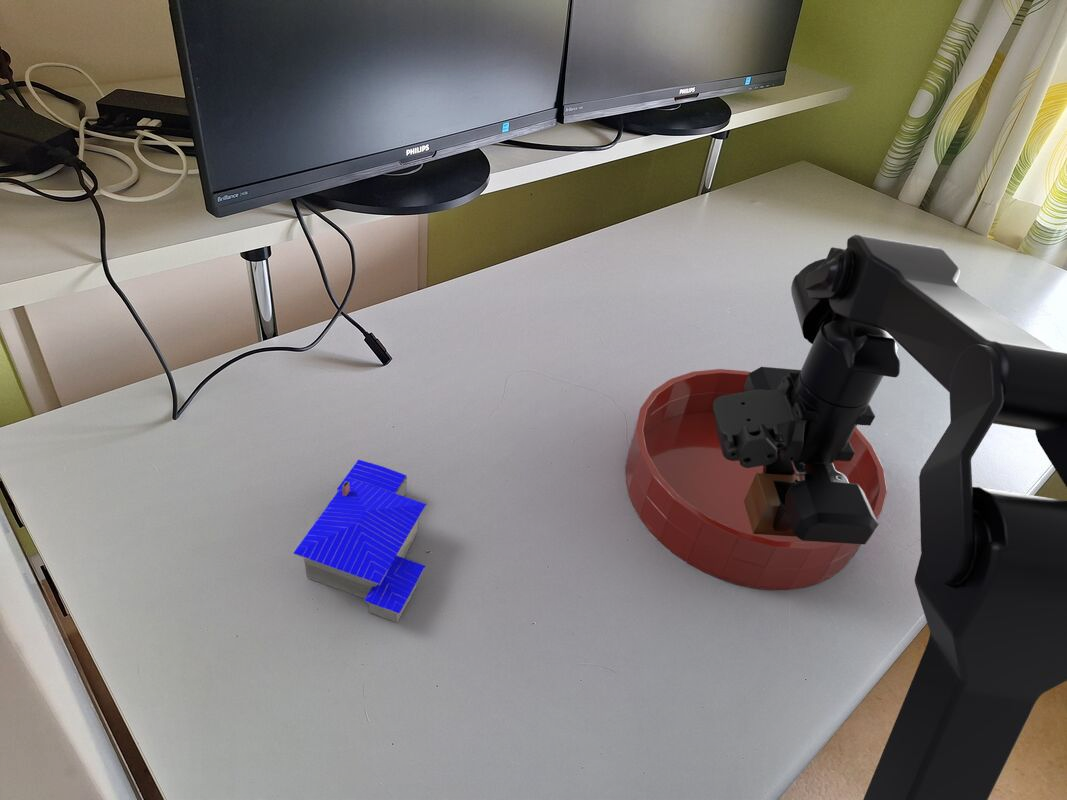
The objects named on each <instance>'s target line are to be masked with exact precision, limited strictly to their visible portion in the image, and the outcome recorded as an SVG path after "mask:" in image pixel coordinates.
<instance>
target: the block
mask: <svg viewBox="0 0 1067 800" xmlns="http://www.w3.org/2000/svg"><path fill="white" fill-rule="evenodd" d="M796 479H797V480H799V477H798V476H794V475H780V474H766V473H756V475H755V477H754V480H753V482H752V484H751V486H750V488H749V491H748V493H747V495H746V497H745V500H744V504H745V507H746V510H747V514H748V517H749V521H750V524H751V527H752V531H753V534H762V535H777V536H793V537H795V535H793V532H792V529H790V530H788V531H785V532H778V531H774V528H773V526H774V522H775V517H776V514H777V511H778V508H779V505H780V501H779V498H778V495H777V492H776V489H775V486H774V483H773V481H784V482H794V481H795V480H796Z"/></svg>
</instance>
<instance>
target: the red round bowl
mask: <svg viewBox="0 0 1067 800" xmlns="http://www.w3.org/2000/svg"><path fill="white" fill-rule="evenodd" d="M751 372H752V371H749V370H738V369H726V368H717V369H706V370H705V369H704V370H696V371H691V372H687V373H685V374H681V375H678V376H675V377H672V378H670V379H668V380H667V381H666V382H664V383H662V384H661V385H659V386H658V387H656V388H655V389H653V390H652V391H651V393H650V394H649V395H648V396H647V398H646V399H645V401H644V402H643V404H642V405H641V407H639V408H640V409H639V411H638V415H637V418H636V422H635V426H634V430H633V433H632V436H631V440H630V445H629V448H628V453H627V457H626V460H625V466H624V478H625V484H626V490H627V494H628V497H629V500H630V502H631V504H632V507H633V509H634V510H635V512H636V514H637V516H638V517H639V519H640V520H641V522H642V523H643V525H644V526H645V527H646V529H647V530H648V531H649V532H650V533H651V534H652V535H653V536H654V538H655V539H657V541H658V542H659V543H660V544H661V545H663V546H664V547H665V548H666V549H667V550H669V551H670V552H671V553H672V554H673V555H675V556H677V557H678V558H679V559H681V560H682V561H683V562H685V563H686V564H689V565H690V566H692V567H694V568H695V569H697V570H699V571H701V572H702V573H705V574H707V575H710V576H712V577H715V578H717V579H719V580H721V581H724V582H728V583H731V584H734V585H739V586H741V587H747V588H752V589H758V590H767V591H789V590H797V589H804V588H808V587H811V586H814V585H815V586H816V585H819V584H821V583H823V582H825V581H827V580H829V579H831V578H832V577H834V576H835V575H837V574H838V573H840V572H841V571H842V570H843V569H844V568H845V567H846V566H847V565H848V564H849V562H850V561H851V559H852V558H853V557H854V556H855V555H856V554H857V552H858V551H859V549H860V548H861V546H862V545H863V544H848V543H832V542H816V541H802V540H801V539H799V538H798V537H796V536H795V537H793V536H777V535H762V534H753V531H752V527H751V524H750V521H749V517H748V514H747V510H746V507H745V504H744V500H745V497H746V495H747V493H748V491H749V488H750V486H751V484H752V482H753V480H754V477H755V475H756V473H763V466H757V467H751V468H745V467H743V466H741V465H740V462H739V461H730V460H728V459H726V458H725V457H724V456H723V454H722V450H721V446H720V442H719V439H718V435H717V433H716V426H715V417H714V408H713V403H714V401H715V399H717V398H718V397H721V396H725V395H730V394H736V393H741V392H744V389H743V388H744V385H745V382H746V380H747V377H748V375H749V373H751ZM849 441H850V444H851V446H852V448H853V450H854V452H855V454H854V456H853V457H852V459H851V461H836V460H835V461H834V463H833V465H834V467H835V469H836V471H838V472H840V473H842V474H844V475H845V476H846V477H847V479H848V481H849V483H857V484H858V485H859V486H860V488H861V489H862V490H863V492H864V493H865V496H866V498H867V500H868V502H869V504H870V507H871V509H872V511H873V513H874V515H875V518H876V520H877V521H878V520H879V518H880V516H881V515H882V513H883V509H884V505H885V502H886V498H887V493H888V488H887V482H886V476H885V475H886V474H885V469H884V467H883V464H882V463H881V460H880V458H879V456H878V455H877V454H878V453H877V452H876V450H875V449H874V446H873V445H872V443H871V442H870V441H869V440H868V438H867V437H866V436H865V435H864V434H863V432H862V431H861V430H860V429H859V428H858V426H856V428H855V430H854V432H853V434H852V436H851V437H850V439H849ZM793 475H794V476H798V477H799V480H800V475H797V474H796V473H794V474H793Z"/></svg>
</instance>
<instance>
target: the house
mask: <svg viewBox="0 0 1067 800" xmlns="http://www.w3.org/2000/svg"><path fill="white" fill-rule="evenodd" d="M407 478H408V477H407V474H404V473H402V472H398V471H396V470H393V469H391V468H388V467H385V466H382V465H380V464H377V463H376V464H375V463H372V462H369V461H365V460H362V459H357V461H356V462H355V464H354V465H353V466H352V467H351V469H350V471H349V472H348V473H347V475H345V477H344V478H343V479H342V481H341V483H340V484H339V486H338V487H337V488H336V494H334V496H333V498H331V500H330V501H329V503H328V504H327V506H326V507H325V509H324V510H323V511H322V513H321V514H320V516H319V517H317V519H316V521H314V524H313V525H312V526H311V528H310V529H309V530H308V532H307V534H306V535H305V536H304V537H303V539H302V540H301V541H300V542H299V545H297V547H296V549H295V550H294V552H293V555H294V556H298V557H300V558H303V559H304V566H305V567H304V568H305V574H306V578H307V579H309V580H312V581H315V582H318V583H321V584H324V585H325V586H329V587H331V588H334V589H337V590H340V591H342V592H345V593H348V594H351V595H353V596H356V597H359V598H362V599H364V600H363V601H364V602H367V603H368V613H370V614H372V615H375V616H378V617H381V618H384V619H387V620H388V621H392V622H395V623H398V622H399V620H400V619H401V616H402V614H403V612H404V611H405V609H406V607H407V605H408V603H409V601H410V600H411V598H412V596H413V594H414V592H415V590H416V588H417V587H418V586H419V585H418V584H419V583H420V578H421V576H422V573H423V572H424V570H425V568H426V565H424V564H422V563H419V562H416V561H413V560H410V559H407V558H405V556H406V554H407V552H408V551H409V549H410V547H411V546H412V543H413V542H414V540H415V539H416V536H417V535H418V521H419V518H420V517H421V515H422V513H423V511H424V510H425V508H426V506H427V503H425V502H422V501H418V500H417V499H413V498H410V497H407V496H405V495H406V494H407V486H408V485H407V483H408V481H407Z"/></svg>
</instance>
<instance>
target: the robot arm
mask: <svg viewBox="0 0 1067 800" xmlns="http://www.w3.org/2000/svg"><path fill="white" fill-rule="evenodd" d="M960 274H961V270H960V269H959V267H958V266H957V264H956V263H955V262H954V260H953V259H952V258H951V257H950V255H948V254H947V252H945V250H944V249H943V248H941V247H936V246H930V245H924V244H917V243H911V242H906V241H905V242H904V241H898V240H893V239H885V238H880V237H873V236H866V235H861V234H854V235H851V236H850V237H849V238H847V241H846V248H841V247H840V248H839V247H833V246H832V247H830V249H829V251H828V254H827V256H826V257H825V258H822V259H818V260H815V261H813V262H811V263H809V264H808V265H806V266H805V267H803V268H802V269H801V270H800V271H799V272H798V273H797V274H796V275H795V276H794V278H793V280H792V283H791V287H790V291H791V293H790V294H791V298H792V301H793V305H794V308H795V311H796V315H797V319H798V322H799V325H800V329H801V333H802V336H803V338H804V339H805V340H806V341H807V342H808V343H810V344H811V347H810V349H809V351H808V354H807V356H806V358H805V360H804V362H803V365H802V367H801V369H793V368H782V367H769V366H760V367H758V368H756V369H754V370H752V371H750V372H751V373H749V375H748V377H747V380H746V382H745V385H744V388H743V389H744V392H741V393H736V394H730V395H725V396H721V397H718V398H717V399H715V401H714V403H713V408H714V417H715V426H716V433H717V435H718V439H719V442H720V446H721V450H722V454H723V456H724V457H725V458H726V459H728V460H730V461H739V462H740V465H741V466H743V467H745V468H751V467H757V466H763V473H766V474H780V475H793V474H794V473H796V474H797V475H800V480H797V479H796V480H795V481H794V482H784V481H773V483H774V486H775V489H776V492H777V495H778V498H779V501H780V505H779V508H778V511H777V514H776V517H775V522H774V526H773V528H774V531H778V532H785V531H788V530H790V529H792V532H793V535H795V536H796V537H798V538H799V539H801V540H802V541H816V542H832V543H848V544H862V545H866V544H867V542H868V541H869V540H870V539H871V538H872V536H873V534H874V533H875V531H876V529H877V528H878V526H879V522H878V519H877V520H876V518H875V515H874V513H873V511H872V509H871V507H870V504H869V502H868V500H867V498H866V496H865V493H864V492H863V490H862V489H861V488H860V486H859V485H858V484H857V483H849V481H848V479H847V477H846V476H845V475H844V474H842V473H840V472H838V471H836V469H835V467H834V465H833V463H834V461H835V460H836V461H851V459H852V457H853V456H854V454H855V452H854V450H853V448H852V446H851V444H850V441H849V439H850V437H851V436H852V434H853V432H854V430H855V428H856V427H858V426H869V427H870V426H871V425H872V423H873V421H874V420H875V419H876V415H875V413H874V411H873V409H872V408H871V405H870V402H871V401H872V399H873V396H874V395H875V393H876V391H877V389H878V388H879V386H880V384H881V382H882V380H883V379H884V377H889V378H897V377H899V376H900V373H901V360H900V358H899V355H898V349H899V347H898V345H900V346H901V347H902V348H903V349H904V351H906V352H907V353H908V354H909V355H910V356H911V357H912V358H913V359H914V360H915V361H916V362H917V363H918V364H919V365H920V366H921V367H922V368H923V369H924V370H926V371H927V373H929V374H930V376H931V377H933V379H934V380H936V381H937V382H938V383H939V384H940V385H941V386H942V387H943V388H944V389H945V390H946V392H948V393H949V411H950V412H949V414H950V416H949V417H950V422H949V425H948V426H947V428H946V429H945V430H944V432H943V434H942V435H941V437H940V438H939V441H938V442H937V444H936V445H935V447H934V448H933V450H932V451H931V453H930V454H929V456H928V458H927V460H926V461H925V463H924V465H923V466H922V468H921V470H920V472H919V476H918V483H919V484H918V485H919V486H918V487H919V489H918V490H919V522H920V525H919V526H920V530H919V531H920V557H919V562H918V564H917V568H916V572H915V576H914V584H915V588H916V591H917V595H918V597H919V601H920V604H921V607H922V611H923V615H924V617H925V621H926V623H927V626H928V627H927V628H928V630H929V636H928V640H927V642H926V643H927V644H926V646H925V648H924V650H923V653H922V655H921V659H920V661H919V663H918V665H917V668H916V670H915V673H914V675H913V678H912V679H911V682H910V685H909V687H908V690H907V692H906V695H905V697H904V700H903V701H902V704H901V706H900V709H899V711H898V714H897V716H896V719H895V721H894V724H893V726H892V729H891V731H890V733H889V735H888V738H887V741H886V743H885V746H884V748H883V751H882V753H881V755H880V758H879V760H878V762H877V764H876V768H875V770H874V772H873V775H872V777H871V780H870V782H869V784H868V787H867V789H866V792H865V794H864V797H863V799H862V800H989V799H990V797H991V794H992V793H993V791H994V788H995V787H996V784H997V783H998V780H999V778H1000V776H1001V774H1002V773H1003V770H1004V769H1005V767H1006V765H1007V763H1008V760H1009V758H1010V756H1011V754H1012V752H1013V751H1014V748H1015V746H1016V744H1017V742H1018V740H1019V738H1020V736H1021V735H1022V732H1023V730H1024V728H1025V726H1026V724H1027V722H1028V720H1029V718H1030V716H1031V714H1032V711H1033V709H1034V707H1035V705H1036V703H1037V701H1038V700H1039V698H1040V697H1041V696H1042V695H1043V694H1044V693H1046V692H1048V691H1050V690H1053V689H1054V688H1055V687H1059V686H1060V685H1062V684H1063V683H1065V682H1067V500H1064V499H1057V498H1051V497H1045V496H1038V495H1033V494H1025V493H1019V492H1013V491H1012V492H1011V491H1006V490H999V489H994V488H986V487H981V486H973V474H972V458H973V457H974V455H975V453H976V452H977V451H978V449H979V447H980V445H981V443H982V442H983V440H984V439H985V437H986V436H987V433H988V432H989V430H990V428H991V427H992V425H1001V426H1006V427H1011V428H1012V427H1013V428H1020V429H1026V430H1032V431H1035V437H1036V440H1037V442H1038V444H1039V446H1040V447H1041V449H1042V450H1043V452H1044V453H1045V456H1046V457H1047V459H1048V460H1049V462H1050V464H1051V465H1052V466H1053V469H1054V470H1055V471H1056V473H1057V474H1058V476H1059V478H1060V479H1061V481H1062V483H1063V484H1064V486H1065V488H1067V352H1066V351H1060V350H1055V349H1054V348H1052V347H1050V346H1049V345H1047V344H1046V343H1044V342H1043V341H1042V340H1040V339H1038V338H1037V337H1035V336H1034V335H1033V334H1032V333H1029V332H1028V331H1026V330H1025V329H1023V328H1022V327H1020V326H1018V325H1017V324H1016V323H1014V322H1013V321H1011V320H1009V319H1008V318H1006V316H1003V315H1002V314H1000V313H999V312H998V311H996V310H994V309H993V308H991V307H990V306H989V305H987V304H985V303H984V302H983V301H981V300H980V299H978V298H976V297H974V296H973V295H971V294H970V293H969V292H967V291H966V290H964V289H962V288H961V287H960V286H959V285H958V284H957V281H958V279H959V277H960ZM896 342H897V343H898V345H897V343H896Z"/></svg>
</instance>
